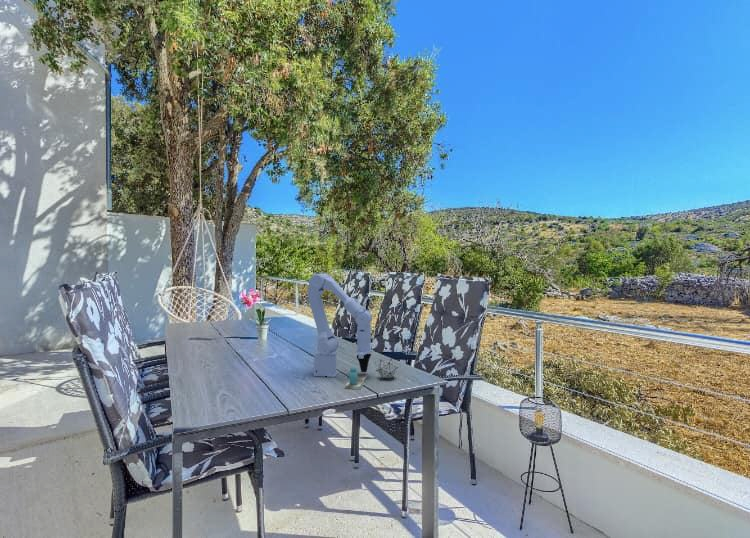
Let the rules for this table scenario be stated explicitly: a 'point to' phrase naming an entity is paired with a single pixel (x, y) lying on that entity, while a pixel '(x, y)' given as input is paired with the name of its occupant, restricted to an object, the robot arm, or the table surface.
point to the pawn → (353, 376)
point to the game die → (387, 369)
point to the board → (360, 382)
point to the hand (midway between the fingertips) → (363, 371)
